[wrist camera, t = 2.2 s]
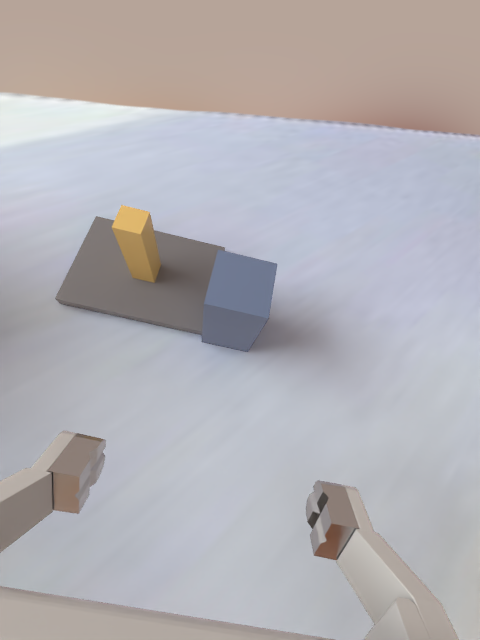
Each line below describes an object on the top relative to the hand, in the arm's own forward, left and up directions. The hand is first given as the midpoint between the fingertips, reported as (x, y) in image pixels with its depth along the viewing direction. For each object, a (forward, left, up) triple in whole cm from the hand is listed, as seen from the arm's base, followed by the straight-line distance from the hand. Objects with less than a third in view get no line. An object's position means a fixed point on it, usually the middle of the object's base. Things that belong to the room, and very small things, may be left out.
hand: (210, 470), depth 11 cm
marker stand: (+2, -18, -15) cm, 23 cm away
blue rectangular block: (-5, -11, -15) cm, 19 cm away
